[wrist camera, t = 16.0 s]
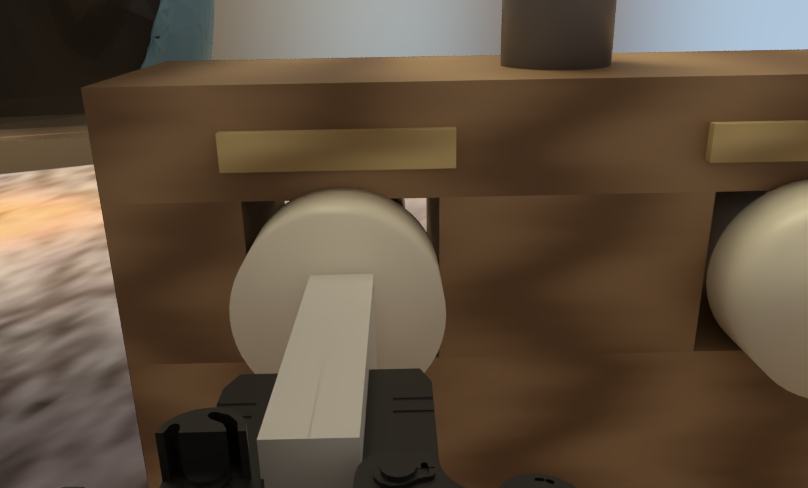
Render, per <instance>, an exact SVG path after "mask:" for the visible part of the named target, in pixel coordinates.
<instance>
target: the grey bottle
mask: <svg viewBox="0 0 808 488" xmlns="http://www.w3.org/2000/svg"><path fill="white" fill-rule="evenodd" d="M615 12H616V0H502V29H501V61H500V65H501V66H504V67H508V68H516V69H529V70H586V69H598V68H605V67H609V66H611V61H612V49H613V36H614V24H615Z"/></svg>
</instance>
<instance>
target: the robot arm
mask: <svg viewBox="0 0 808 488" xmlns="http://www.w3.org/2000/svg"><path fill="white" fill-rule="evenodd" d="M213 26H214V0H0V141H19V140H39V139H59V138H80V137H89V133H88V127H87V121H86V115H85V110H84V104H83V98H82V92H81V87H85V86H88V85H91V84H94V83H97V82H101V81H104V80H107V79H110V78H113V77H117V76H120V75H123V74H126V73H130V72H133V71H136V70H139V69H142V68H146V67H149V66H152V65H155V64H158V63H162V62H165V61H201V60H211V58H212V45H213ZM155 437H156V444H157V450H158V456H159V463H160V469H161V476H162V483H161V485H160V487H159V488H466V487H464V486H462V485H460V484H458V483H456V482H454V481H453V480H452V479H451V478H449V477H448V476H447V475H446V473H445V472H444V471H443V469H442V468H441V465H440V461H439V454H438V443H437V433H436V422H435V413H434V400H433V390H432V381H431V380H430V379H429V378H428V377H427V376H426V375H425V373H424V372H423V371H422V370H421V369H420V368H413V369H377V351H376V324H375V297H374V274H338V275H310V277H309V280H308V283H307V286H306V289H305V292H304V296H303V299H302V302H301V305H300V308H299V311H298V314H297V317H296V320H295V323H294V326H293V329H292V333H291V336H290V339H289V342H288V345H287V348H286V351H285V354H284V357H283V360H282V363H281V366H280V370H279V373H276V374H240V375H239V376H238V377H237V378H236V379H234V380H233V381H232V382H231V383H229V384H228V385H227V386H226V387H225V388H224V389H223V391H222V393H221V395H220V398H219V400H218V402H217V407H215V408H214V407H210V408H202V409H195V410H191V411H188V412H185V413H182V414H179V415H177V416H175V417H174V418H172V419H170V420H168V421H167V422H165V423H164V424H163V425H162V426H161V427H160V428H159V429H158V430H157V431H156V432H155ZM63 488H84V487H63ZM497 488H576V487H575V486H574V485H573V484H571V483H568V482H566V481H564V480H562V479H560V478H558V477H554V476H549V475H544V474H539V473H538V474H521V475H518V476H515V477H512V478H509V479H507V480H506V481H504V482H503V483H502V484H501V485H500V486H499V487H497Z"/></svg>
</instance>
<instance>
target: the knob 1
mask: <svg viewBox="0 0 808 488" xmlns="http://www.w3.org/2000/svg"><path fill="white" fill-rule="evenodd" d="M338 274H374V297H375V324H376V351H377V369H413V368H420V369H421V370H422V371H423V372H424V373H425V372H426V370H427V369H428V367H429V366H430V365H431V363H432V362H433V360H434V358H435V356H436V354H437V353H438V350H439V348H440V345H441V342H442V340H443V335H444V331H445V323H446V305H445V298H444V292H443V287H442V281H441V276H440V270H439V265H438V260H437V255H436V252H435V249H434V247H433V244H432V242H431V240H430V238H429V236H428V234H427V232H426V231H425V229H424V228H423V227H422V225H421V224H420V222H419V221H418V220H417V219H416V218H415V217H414V216H413V215H412V214H411V213H410V212H409V211H407V210H406V209H405V200H404V198H391V199H390V198H388V197H385V196H383V195H381V194H379V193H376V192H372V191H369V190H366V189H360V188H354V187H331V188H324V189H319V190H314V191H311V192H309V193H306V194H303V195H301V196H299V197H297V198H295V199H293V200H291V201H289V202H288V203H287V204H285V205H284V206H282V207H281V208H280V209H279V210H277V211H276V212H275V213H274V214H273V215H272V216H271V217H270V218H269V220H268V221H267V222H266V223H265V224H264V226H263V227H262V229H261V231H260V232H259V234H258V236H257V237H256V239H255V241H254V243H253V245H252V247H251V248H250V250H249V252H248V254H247V256H246V258H245V260H244V261H243V263H242V265H241V267H240V269H239V271H238V273H237V276H236V278H235V280H234V284H233V287H232V291H231V296H230V306H229V312H230V324H231V329H232V334H233V337H234V340H235V343H236V345H237V347H238V349H239V351H240V353H241V356H242V357H243V359H244V360H245V362H246V363H247V365H248V366H249V368H250V369H251V370H252V371H253V372H254V373H255V374H276V373H279V370H280V366H281V363H282V360H283V357H284V354H285V351H286V348H287V345H288V342H289V339H290V336H291V333H292V329H293V326H294V323H295V320H296V317H297V314H298V311H299V308H300V305H301V302H302V299H303V296H304V292H305V289H306V286H307V283H308V280H309V277H310V275H338Z"/></svg>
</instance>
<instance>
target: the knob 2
mask: <svg viewBox="0 0 808 488" xmlns="http://www.w3.org/2000/svg"><path fill="white" fill-rule="evenodd" d="M704 275H705V276H707V280H706V288H707V298H708V302H709V306H710V309H711V311H712V314H713V316H714V318H715V319H716V321H717V323H718V324H719V326H720V327H721V328H722V329H723V330H724V332H725V333H726V334H727V335H728V336H729V337H730V338H731V339H732V340H733V341H734V342H735V343H736V344H737V345H738V346H739V347H740V348H741V349H742V350H743V351H744V352H745V353H746V354H747V355H748V356H749V357H750V358H751V359H752V360H753V361H754V362H755V363H756V364H757V365H758V366H759V367H760V368H761V369H762V370H763V371H764V372H765V373H766V374H767V375H768V376H769V377H770V378H771V379H772V380H773V381H774V382H775V383H776V384H778V385H779V386H781V387H782V388H784V389H786V390H787V391H789V392H792V393H794V394H796V395H798V396H802V397H805V398H808V179H805V180H801V181H796V182H792V183H789V184H786V185H783V186H780V187H778V188H776V189H773V190H771V191H727V192H716V194H715V201H714V208H713V215H712V222H711V230H710V237H709V244H708V251H707V258H706V265H705V272H704Z"/></svg>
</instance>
